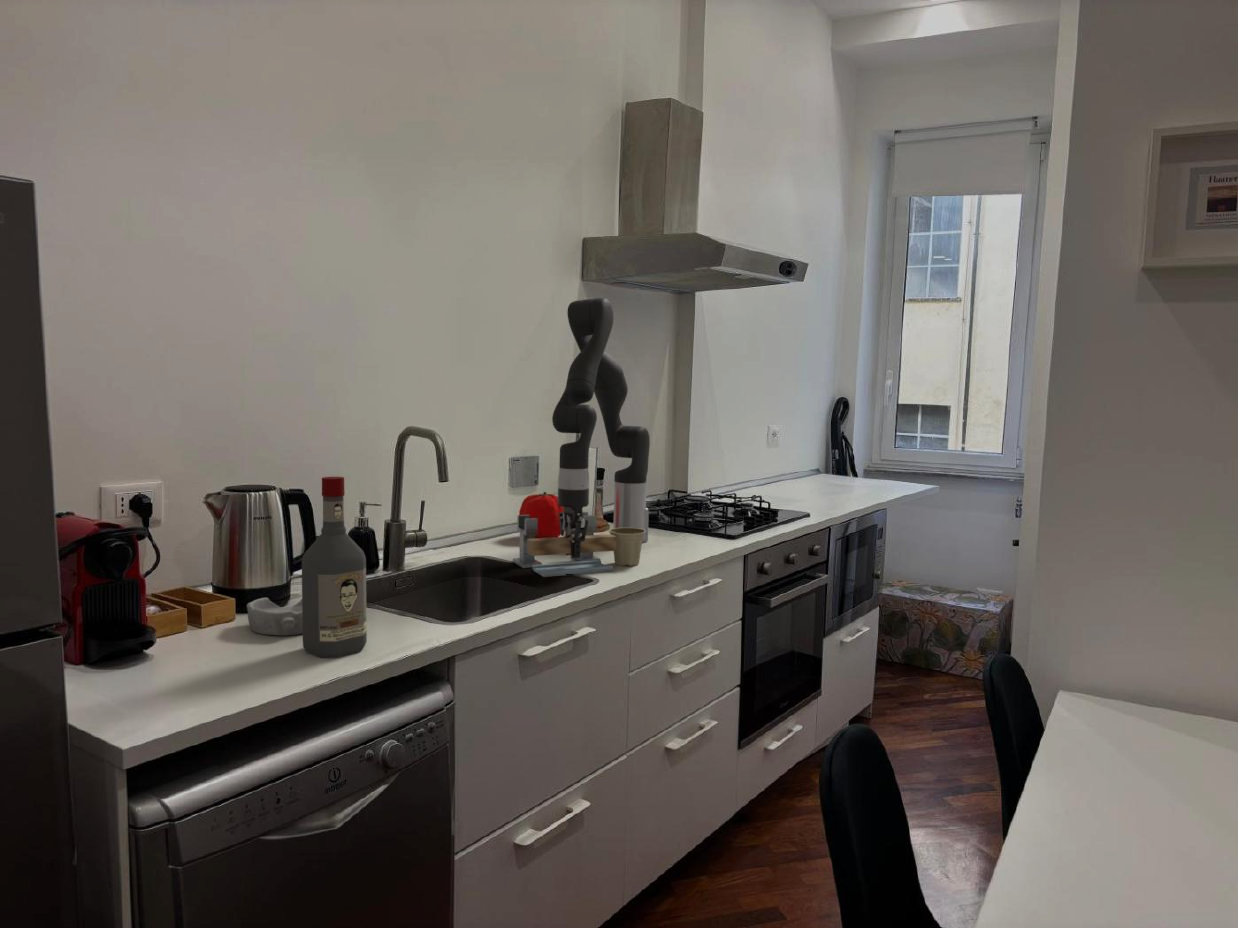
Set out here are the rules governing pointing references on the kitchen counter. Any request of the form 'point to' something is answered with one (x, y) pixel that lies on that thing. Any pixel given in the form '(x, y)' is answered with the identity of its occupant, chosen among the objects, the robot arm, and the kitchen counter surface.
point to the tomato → (543, 513)
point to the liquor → (334, 583)
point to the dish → (275, 618)
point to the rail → (564, 545)
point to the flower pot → (627, 545)
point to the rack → (529, 531)
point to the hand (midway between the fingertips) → (572, 555)
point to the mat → (571, 568)
